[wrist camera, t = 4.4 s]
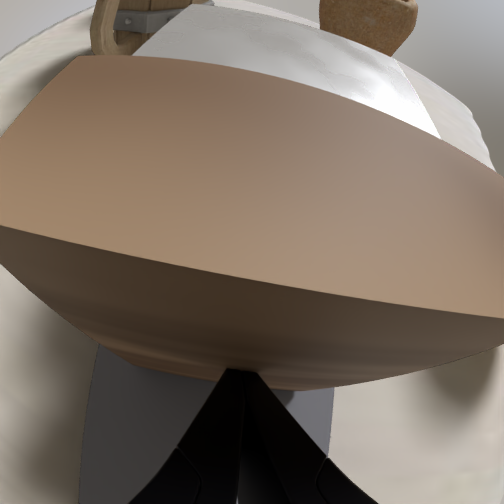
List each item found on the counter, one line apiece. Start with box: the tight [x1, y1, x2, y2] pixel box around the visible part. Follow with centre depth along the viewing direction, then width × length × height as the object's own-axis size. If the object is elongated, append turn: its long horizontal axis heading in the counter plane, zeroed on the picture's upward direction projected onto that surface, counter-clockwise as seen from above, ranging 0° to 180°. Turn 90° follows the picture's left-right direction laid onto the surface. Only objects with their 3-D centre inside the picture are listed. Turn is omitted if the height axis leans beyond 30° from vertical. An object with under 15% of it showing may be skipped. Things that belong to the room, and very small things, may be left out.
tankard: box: [90, 0, 214, 56], centre depth 20 cm, size 20×13×15 cm, turn 161°
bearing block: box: [132, 4, 441, 139], centre depth 13 cm, size 6×9×11 cm, turn 83°
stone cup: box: [319, 0, 418, 57], centre depth 25 cm, size 15×12×15 cm
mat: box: [79, 344, 334, 504], centre depth 15 cm, size 25×12×1 cm, turn 174°
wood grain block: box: [0, 55, 504, 391], centre depth 11 cm, size 13×8×12 cm, turn 174°
